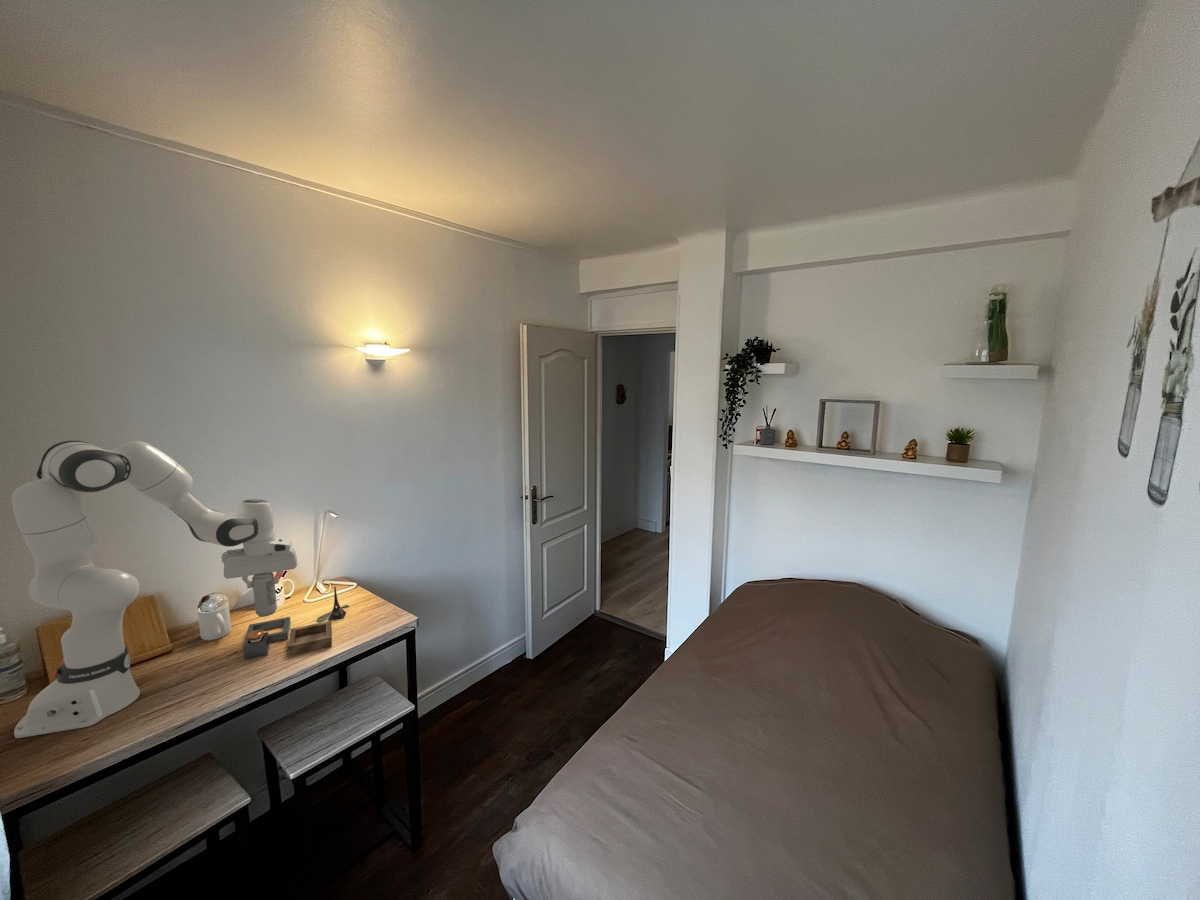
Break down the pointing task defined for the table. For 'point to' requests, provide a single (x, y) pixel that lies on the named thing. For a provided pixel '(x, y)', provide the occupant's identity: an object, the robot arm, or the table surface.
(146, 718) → the table surface
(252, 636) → the release plunger
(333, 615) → the eiffel tower figurine
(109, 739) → the table surface
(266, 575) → the energy drink can
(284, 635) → the socket block
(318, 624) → the brown wooden tray
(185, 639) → the table surface
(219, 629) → the mug
